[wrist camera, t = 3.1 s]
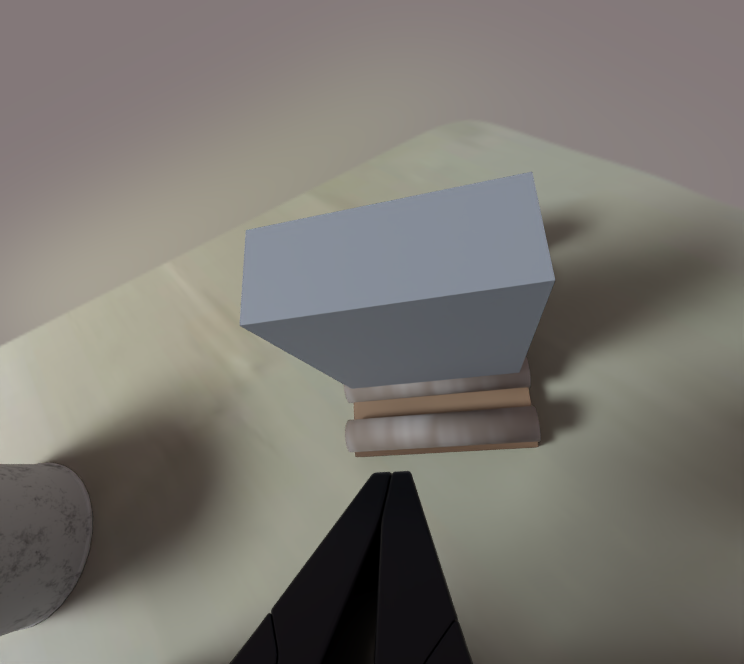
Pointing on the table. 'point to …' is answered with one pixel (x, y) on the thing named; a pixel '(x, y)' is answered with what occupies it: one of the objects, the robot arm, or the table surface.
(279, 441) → the table surface
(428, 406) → the roller track
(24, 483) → the speckled concrete cylinder
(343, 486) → the table surface
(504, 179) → the slab
